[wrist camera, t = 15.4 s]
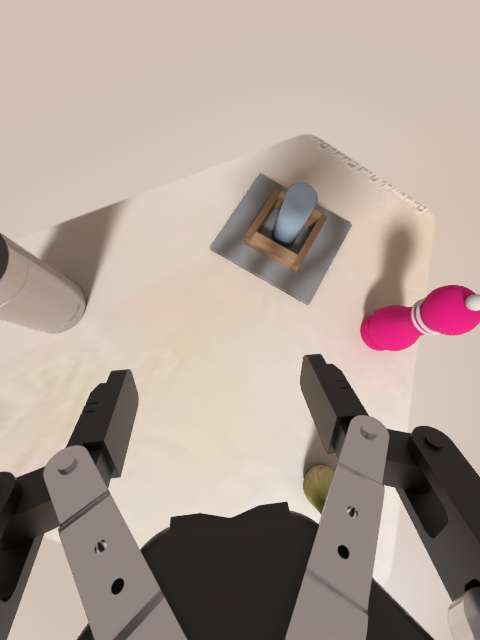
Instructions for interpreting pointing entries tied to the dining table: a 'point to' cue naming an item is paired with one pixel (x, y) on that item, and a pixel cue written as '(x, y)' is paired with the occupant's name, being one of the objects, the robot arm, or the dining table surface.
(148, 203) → the dining table surface
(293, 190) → the post
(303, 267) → the wooden frame tray
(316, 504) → the fennel bulb
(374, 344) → the pepper mill
